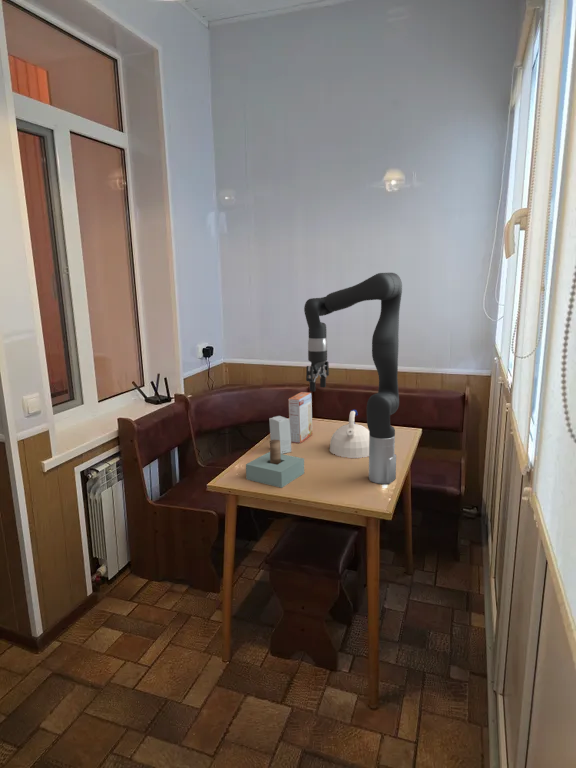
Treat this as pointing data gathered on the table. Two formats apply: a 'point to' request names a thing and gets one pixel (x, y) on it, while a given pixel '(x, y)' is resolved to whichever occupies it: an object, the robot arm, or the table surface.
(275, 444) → the walnut pin
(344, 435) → the kettle
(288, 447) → the skincare box
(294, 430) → the cracker box
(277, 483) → the slate bore block
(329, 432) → the table surface
